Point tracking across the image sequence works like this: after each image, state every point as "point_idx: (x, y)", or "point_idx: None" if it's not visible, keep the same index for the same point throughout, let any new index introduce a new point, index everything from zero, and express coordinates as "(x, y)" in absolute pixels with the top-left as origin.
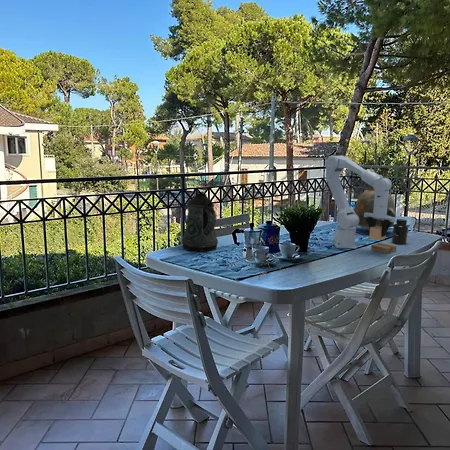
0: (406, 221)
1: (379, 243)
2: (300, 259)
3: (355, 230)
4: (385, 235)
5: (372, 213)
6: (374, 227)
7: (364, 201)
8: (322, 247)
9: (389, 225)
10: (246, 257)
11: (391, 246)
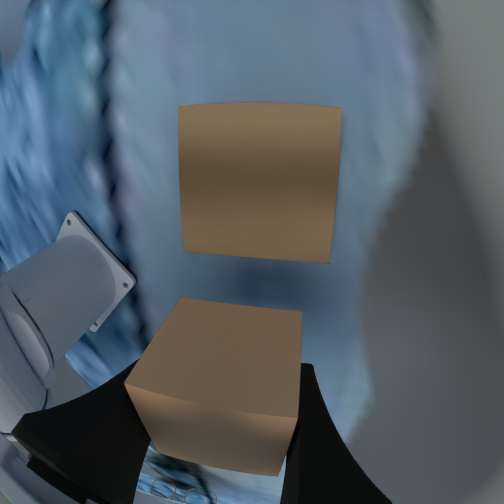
0: None
1: (189, 148)
2: (170, 458)
3: (43, 323)
4: (301, 339)
5: (12, 498)
6: (185, 450)
7: None
8: (79, 349)
9: (358, 481)
10: (153, 489)
11: (318, 161)
